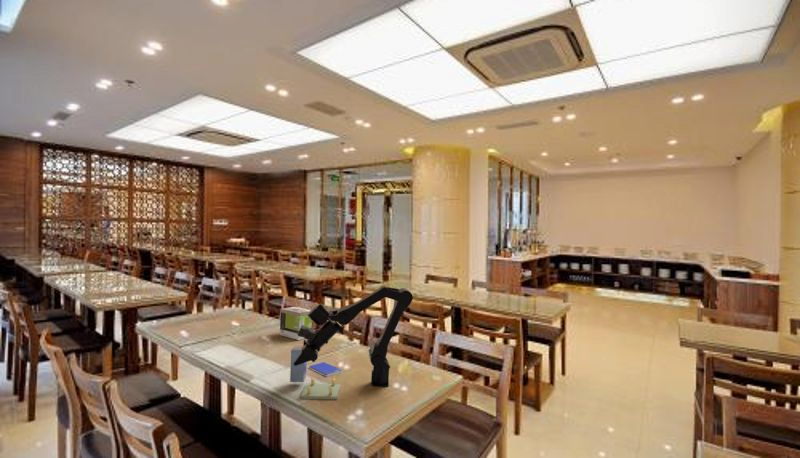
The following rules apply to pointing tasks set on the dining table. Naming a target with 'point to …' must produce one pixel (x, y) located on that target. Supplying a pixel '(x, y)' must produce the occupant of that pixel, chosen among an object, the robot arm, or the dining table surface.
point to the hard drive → (325, 369)
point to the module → (300, 370)
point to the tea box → (294, 321)
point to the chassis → (320, 390)
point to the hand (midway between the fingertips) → (295, 362)
